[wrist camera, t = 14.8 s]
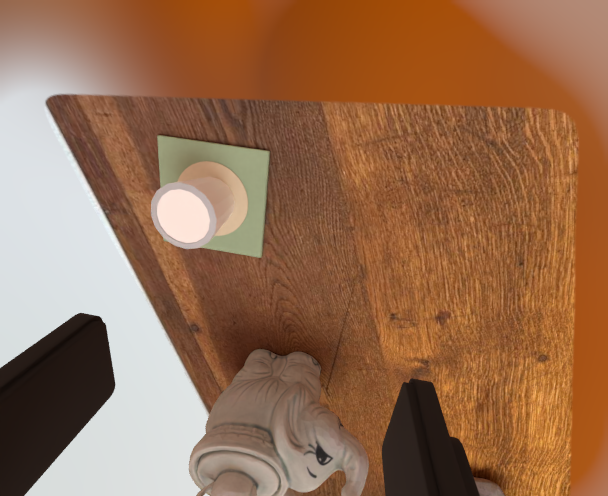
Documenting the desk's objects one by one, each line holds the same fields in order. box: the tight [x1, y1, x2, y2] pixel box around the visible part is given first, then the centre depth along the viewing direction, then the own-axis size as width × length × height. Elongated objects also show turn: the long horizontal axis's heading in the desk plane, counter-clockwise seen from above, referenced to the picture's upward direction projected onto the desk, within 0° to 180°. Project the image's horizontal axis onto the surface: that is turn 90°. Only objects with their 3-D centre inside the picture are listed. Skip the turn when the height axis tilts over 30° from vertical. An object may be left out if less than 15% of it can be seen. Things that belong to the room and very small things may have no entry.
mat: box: [157, 135, 270, 258], centre depth 37 cm, size 13×13×1 cm
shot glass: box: [151, 177, 235, 249], centre depth 34 cm, size 7×7×7 cm
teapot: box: [189, 349, 369, 496], centre depth 38 cm, size 16×15×19 cm
